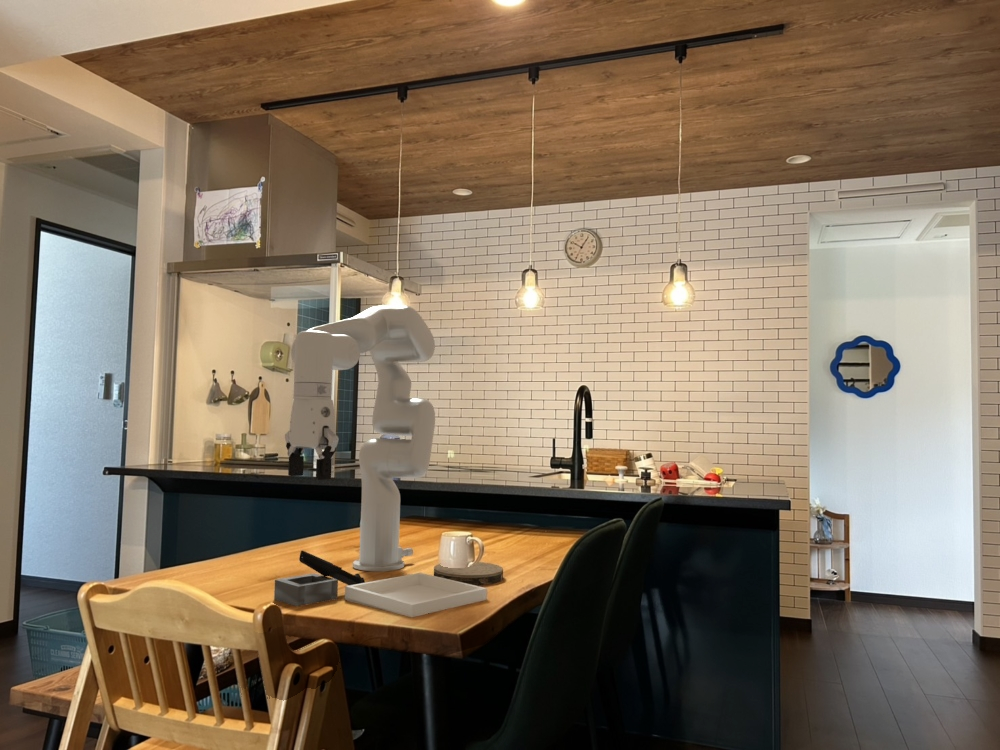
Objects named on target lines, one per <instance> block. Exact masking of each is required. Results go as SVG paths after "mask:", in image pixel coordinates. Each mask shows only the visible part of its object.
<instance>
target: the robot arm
mask: <svg viewBox="0 0 1000 750" xmlns="http://www.w3.org/2000/svg"><path fill="white" fill-rule="evenodd" d="M435 348H436V344H435V339H434V335H433V333H432V331H431V329H430V328H429V327H428V324H427V323H426V322H425V320H424V319H423V317H422V315H421V314H419V312H418V311H417V310H416V309H415V308H413V307H411V306H409V305H376V306H371V307H369V308H367V309H365V310H363V311H362V312H360V313H358V314H356V315H353V317H350V318H345V319H342V320H341V319H340V320H338V321H335V322H334V321H333V322H330V323H326V324H322V325H317V326H314V327H311V328H309V329H307V330H302V331H300V332H298V333H297V334H296V336H295V339H294V340H293V342H292V345H291V349H290V356H291V359H292V362H293V364H294V366H293V367H294V369H293V390H292V392H293V394H292V396H293V397H292V399H293V401H292V404H291V405H292V406H291V413H290V419H289V422H290V423H289V430H288V431H287V432H286V433H285V434H284V439H285V447H286V449H287V456H288V469H287V470H288V471H287V472H288V476H289V477H298V476H299V477H302V476H303V475H304V464H305V461H304V460H305V457H304V455H303V453H304V451H305V450H306V449H309V450H313V449H314V450H315V452H316V454H317V456H318V458H317V459H316V461H315V462H316V464H315V467H316V468H315V479H316V480H317V481H318V480H321V481H323V480H331V478H332V461H333V459H334V456H335V453H336V451H337V446H338V443H339V436H338V435H337V434H336V414H335V413H336V412H335V405H334V400H333V399H332V394H333V393H332V389H333V371H344V370H345V371H346V370H349V369H350V370H351V369H352V368H353V367H355V366H356V365H358V362H359V360H360V357H361V354H363V353H367V352H369V353H370V355H371V359H372V362H373V365H374V368H375V370H376V374H377V381H378V383H377V389H376V395H375V400H374V405H373V406H374V407H373V412H372V417H371V418H372V419H371V421H372V422H371V423H372V428H373V430H374V432H376V433H377V434H379V435H385V436H396V437H397V436H402V437H403V436H404V437H411V439H403V438H381V437H380V438H373V439H372V438H370V439H369V440H367V441H365V442H363V444H362V445H361V447H360V449H359V452H358V461H359V470H360V475H361V476H360V477H361V503H360V505H361V506H360V508H361V509H360V532H359V533H360V534H359V535H360V536H359V559H356V560H354V561H353V562H352V568H354V569H356V570H357V571H359V570H360V571H363V572H364V571H365V572H391V571H397V570H401V569H404V567H405V561H404V560H403V558H404V557H410V556H412V555H414V549H413V548H412V547H407V548H403V547H402V546H400V544H399V543H400V517H401V493H400V490H399V488H398V486H397V485H396V483H395V481H394V480H393V479H394V478H395V479H396V478H397V479H421V478H423V477H424V476H425V475H426V474H427V472H428V470H429V465H430V461H431V456H432V454H431V453H432V448H433V442H434V441H433V440H434V434H435V426H436V412H435V407H434V405H433V404H432V403H431V402H430V401H429V400H427V399H425V398H416V397H415V398H411V390H412V380H411V378H410V376H409V374H408V373H407V371H406V370H405V369H404V367H403V366H402V365H401V363H400V362H402V363H403V362H405V363H409V362H410V363H411V362H412V363H414V362H415V363H421V362H427V361H429V360H431V358H432V357H433V356H434V353H435V350H436V349H435Z"/></svg>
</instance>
